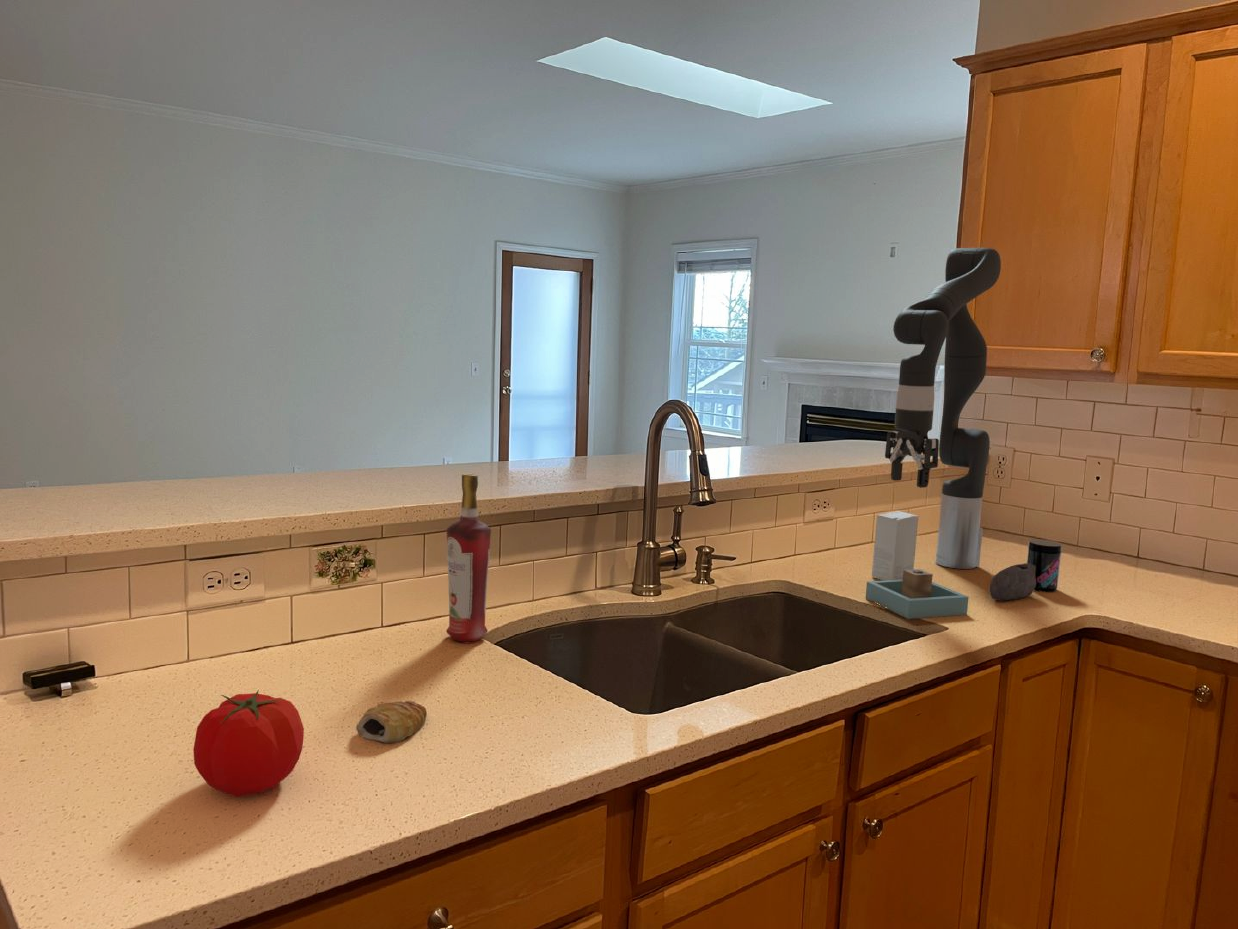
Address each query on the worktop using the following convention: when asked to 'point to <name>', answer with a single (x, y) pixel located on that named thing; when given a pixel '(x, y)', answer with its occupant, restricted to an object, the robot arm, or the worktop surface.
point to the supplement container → (1045, 563)
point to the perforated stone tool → (1013, 582)
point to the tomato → (248, 743)
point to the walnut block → (916, 584)
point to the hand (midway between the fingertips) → (908, 483)
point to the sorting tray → (917, 600)
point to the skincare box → (894, 545)
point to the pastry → (392, 721)
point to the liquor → (468, 568)
